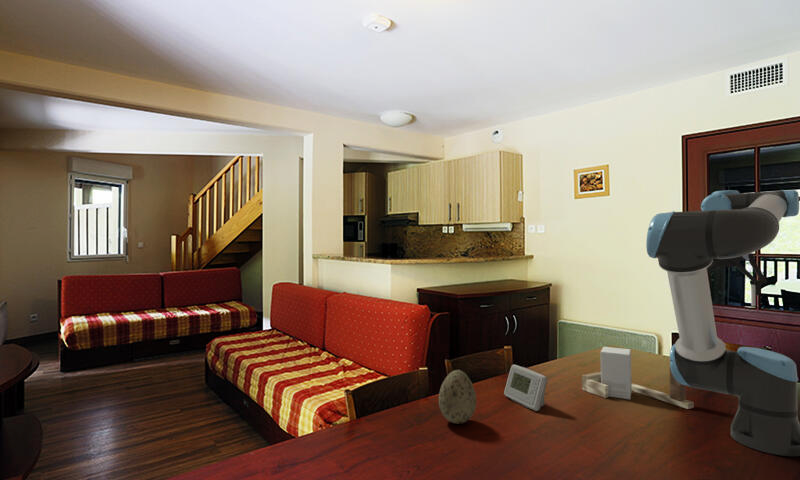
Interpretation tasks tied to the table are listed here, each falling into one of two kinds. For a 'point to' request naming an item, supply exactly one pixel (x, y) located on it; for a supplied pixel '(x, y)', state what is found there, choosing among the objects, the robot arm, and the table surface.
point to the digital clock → (526, 387)
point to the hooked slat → (639, 390)
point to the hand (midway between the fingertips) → (726, 304)
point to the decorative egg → (457, 397)
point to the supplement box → (616, 371)
